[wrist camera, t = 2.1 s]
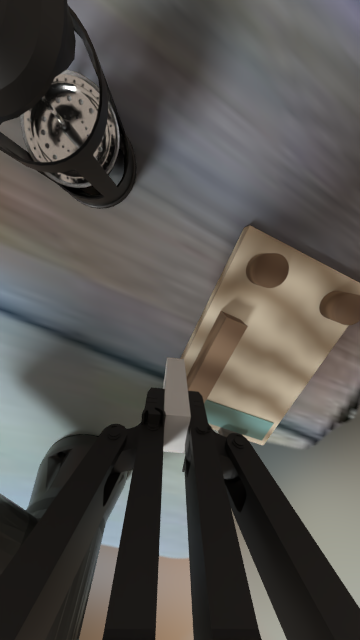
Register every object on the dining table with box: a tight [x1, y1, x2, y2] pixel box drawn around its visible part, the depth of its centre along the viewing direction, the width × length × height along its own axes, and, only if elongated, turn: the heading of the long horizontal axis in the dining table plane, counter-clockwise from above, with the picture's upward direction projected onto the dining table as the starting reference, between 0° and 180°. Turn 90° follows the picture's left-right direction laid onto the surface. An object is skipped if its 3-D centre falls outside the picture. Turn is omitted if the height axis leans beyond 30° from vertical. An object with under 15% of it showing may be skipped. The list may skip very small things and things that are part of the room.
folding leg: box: [186, 311, 248, 403], centre depth 28 cm, size 18×3×4 cm, turn 156°
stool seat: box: [180, 226, 360, 445], centre depth 30 cm, size 30×20×5 cm, turn 156°
